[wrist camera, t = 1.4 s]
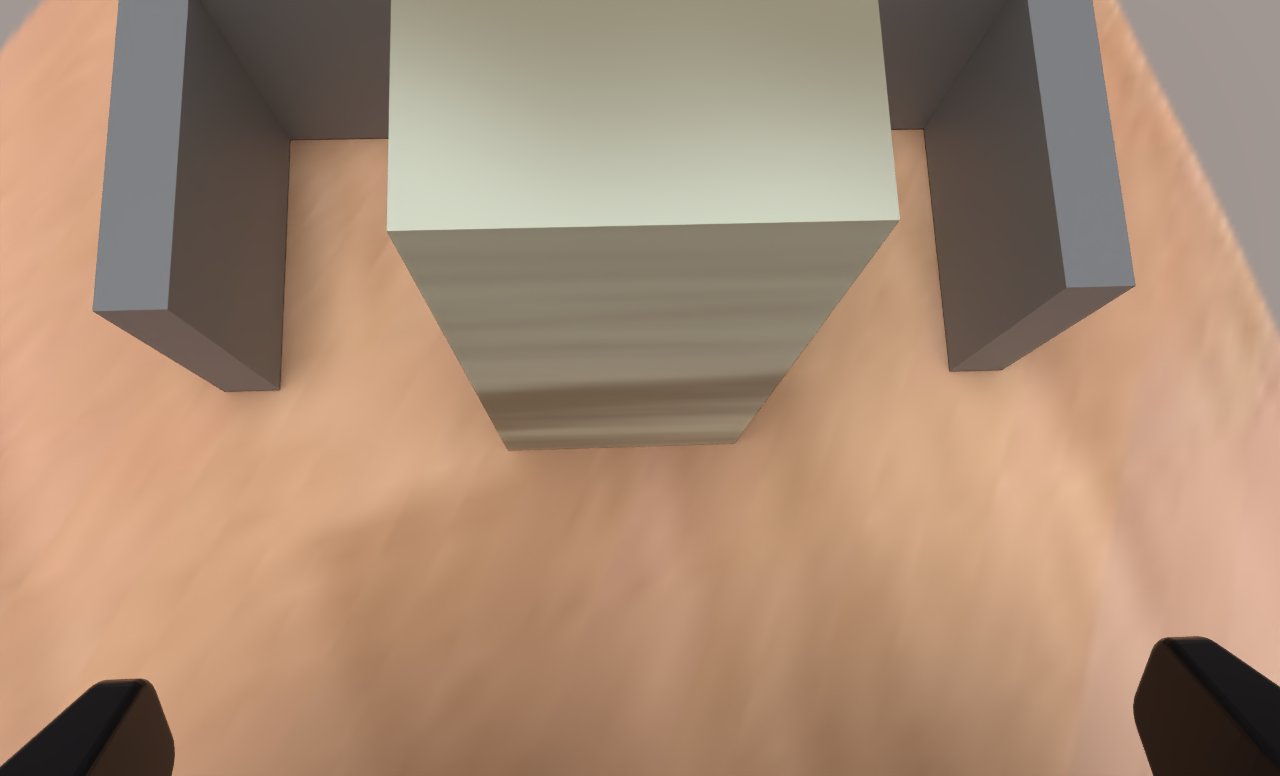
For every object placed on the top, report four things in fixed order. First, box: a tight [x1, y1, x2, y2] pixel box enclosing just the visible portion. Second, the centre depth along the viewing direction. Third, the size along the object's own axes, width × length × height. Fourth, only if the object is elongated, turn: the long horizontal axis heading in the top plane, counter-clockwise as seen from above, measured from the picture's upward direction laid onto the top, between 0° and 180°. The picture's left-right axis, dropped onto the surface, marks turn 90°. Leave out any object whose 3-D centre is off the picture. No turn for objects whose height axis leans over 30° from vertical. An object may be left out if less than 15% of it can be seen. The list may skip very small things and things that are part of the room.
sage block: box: [387, 0, 900, 451], centre depth 17 cm, size 5×5×13 cm
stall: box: [93, 0, 1136, 392], centre depth 21 cm, size 7×17×6 cm, turn 92°
